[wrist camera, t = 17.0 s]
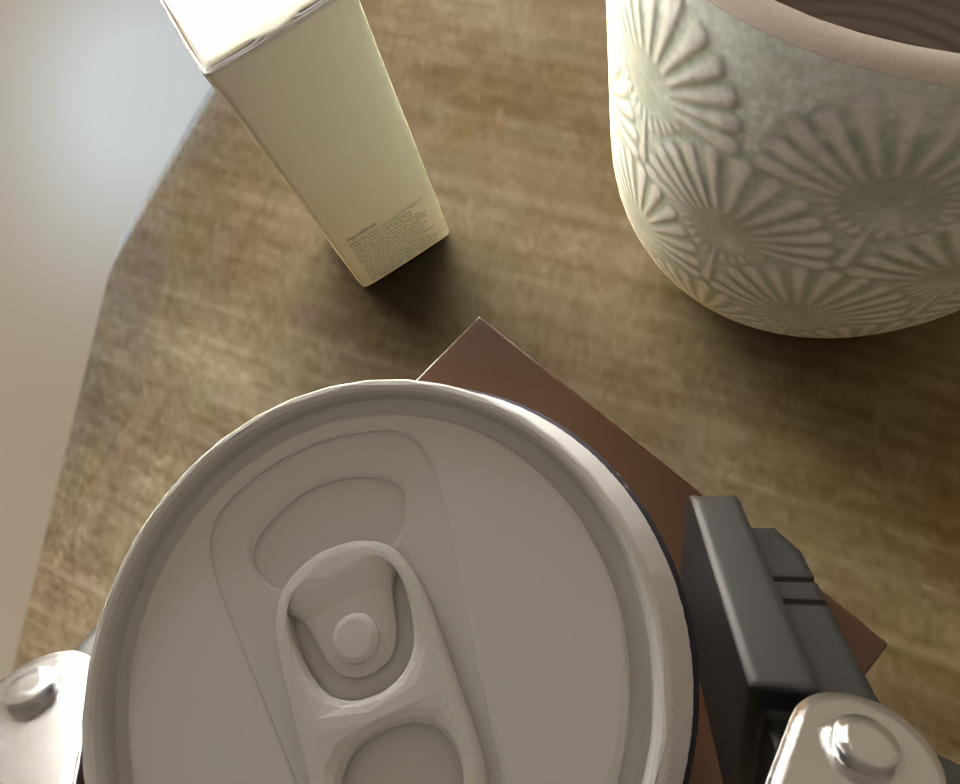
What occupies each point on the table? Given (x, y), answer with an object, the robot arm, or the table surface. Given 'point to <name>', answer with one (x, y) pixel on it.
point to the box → (321, 119)
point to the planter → (793, 156)
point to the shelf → (517, 377)
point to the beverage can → (395, 608)
